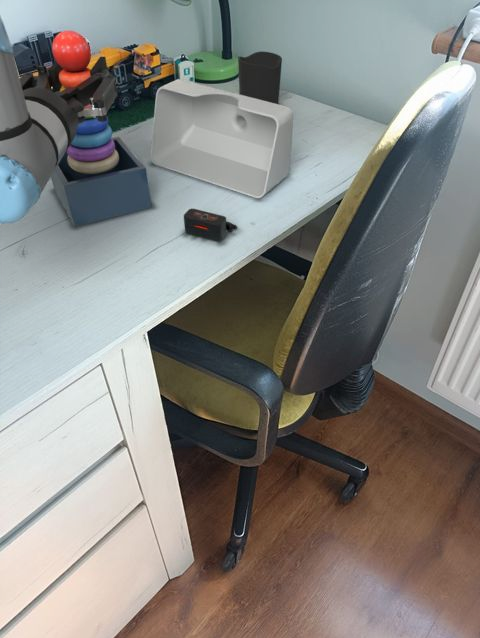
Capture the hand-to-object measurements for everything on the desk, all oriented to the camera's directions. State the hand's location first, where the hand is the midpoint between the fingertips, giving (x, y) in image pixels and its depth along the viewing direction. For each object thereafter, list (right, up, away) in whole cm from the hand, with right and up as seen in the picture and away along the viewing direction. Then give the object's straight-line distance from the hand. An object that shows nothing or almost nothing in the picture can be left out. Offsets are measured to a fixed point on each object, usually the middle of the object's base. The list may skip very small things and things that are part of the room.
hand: (85, 65), depth 77 cm
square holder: (-1, -17, +10) cm, 20 cm away
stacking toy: (0, -13, +6) cm, 14 cm away
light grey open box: (+20, -7, +20) cm, 30 cm away
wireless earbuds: (+19, -25, +4) cm, 31 cm away
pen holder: (+26, +13, +40) cm, 50 cm away
